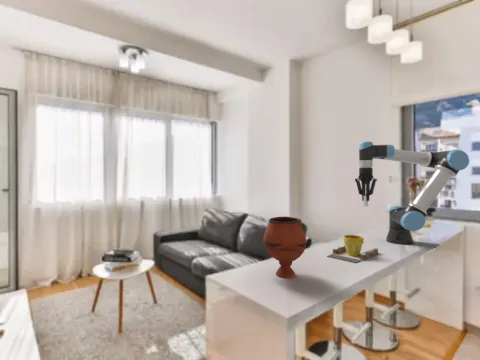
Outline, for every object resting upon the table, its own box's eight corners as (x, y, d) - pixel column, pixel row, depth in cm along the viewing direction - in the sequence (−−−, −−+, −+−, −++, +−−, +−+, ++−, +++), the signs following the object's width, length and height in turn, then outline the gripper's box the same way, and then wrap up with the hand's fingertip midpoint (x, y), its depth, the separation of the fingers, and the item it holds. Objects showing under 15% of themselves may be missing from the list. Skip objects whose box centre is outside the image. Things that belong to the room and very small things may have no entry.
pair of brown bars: (348, 247, 175) (348, 242, 175) (378, 253, 162) (378, 248, 162) (332, 253, 162) (332, 248, 162) (363, 260, 149) (363, 255, 149)
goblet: (278, 264, 144) (277, 214, 143) (314, 273, 131) (314, 218, 131) (255, 275, 129) (254, 219, 128) (293, 286, 117) (293, 224, 116)
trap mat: (332, 254, 161) (332, 253, 161) (361, 260, 149) (361, 259, 149) (327, 256, 156) (327, 255, 156) (356, 263, 145) (356, 262, 145)
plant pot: (364, 257, 154) (365, 239, 154) (344, 256, 157) (344, 238, 157) (361, 252, 164) (362, 235, 164) (342, 251, 167) (342, 234, 167)
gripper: (352, 167, 178) (352, 206, 179) (374, 167, 169) (374, 207, 170) (358, 167, 184) (358, 204, 184) (379, 167, 174) (379, 206, 175)
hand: (365, 206), depth 177 cm, fingers closed
